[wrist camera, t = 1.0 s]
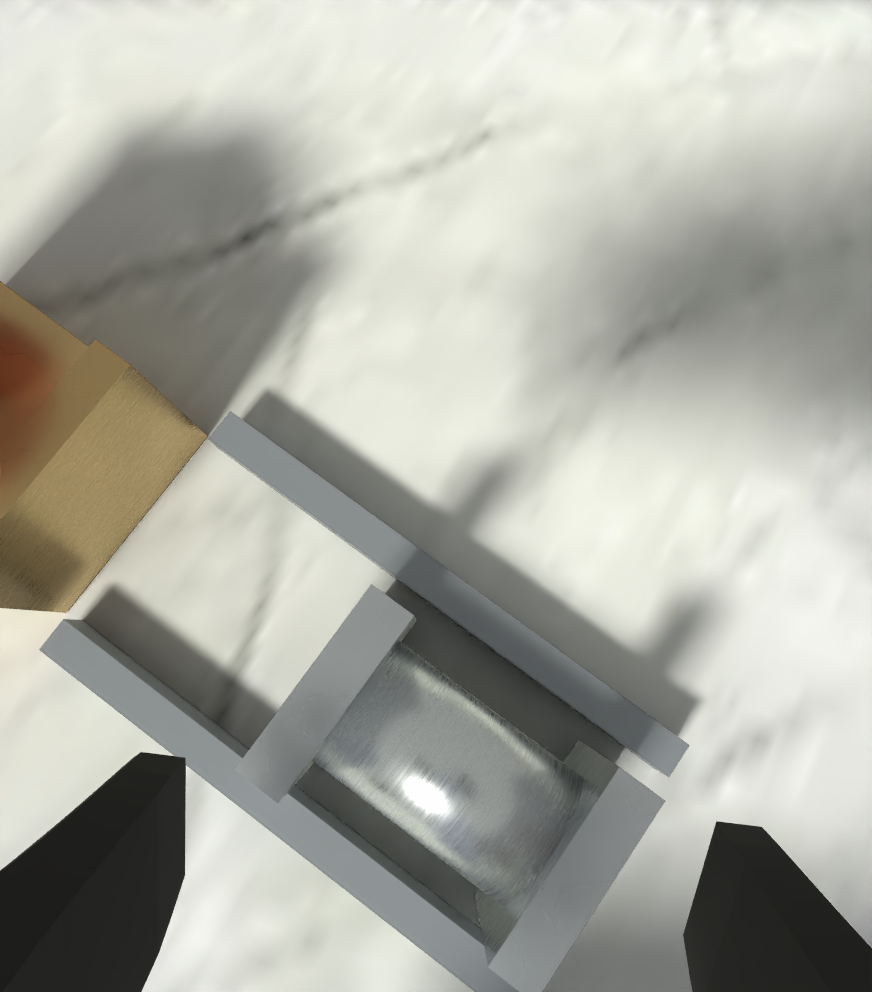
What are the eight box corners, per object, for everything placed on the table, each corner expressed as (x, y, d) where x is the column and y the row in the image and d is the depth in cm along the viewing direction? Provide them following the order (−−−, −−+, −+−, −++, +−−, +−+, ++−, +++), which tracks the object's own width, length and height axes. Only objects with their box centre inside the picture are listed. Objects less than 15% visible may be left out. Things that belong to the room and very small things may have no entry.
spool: (614, 765, 23) (665, 800, 18) (510, 922, 22) (534, 1003, 17) (383, 595, 23) (371, 584, 19) (276, 741, 23) (234, 769, 18)
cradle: (675, 739, 23) (689, 745, 22) (507, 999, 22) (511, 1020, 20) (239, 422, 24) (230, 411, 23) (58, 649, 23) (39, 649, 22)
